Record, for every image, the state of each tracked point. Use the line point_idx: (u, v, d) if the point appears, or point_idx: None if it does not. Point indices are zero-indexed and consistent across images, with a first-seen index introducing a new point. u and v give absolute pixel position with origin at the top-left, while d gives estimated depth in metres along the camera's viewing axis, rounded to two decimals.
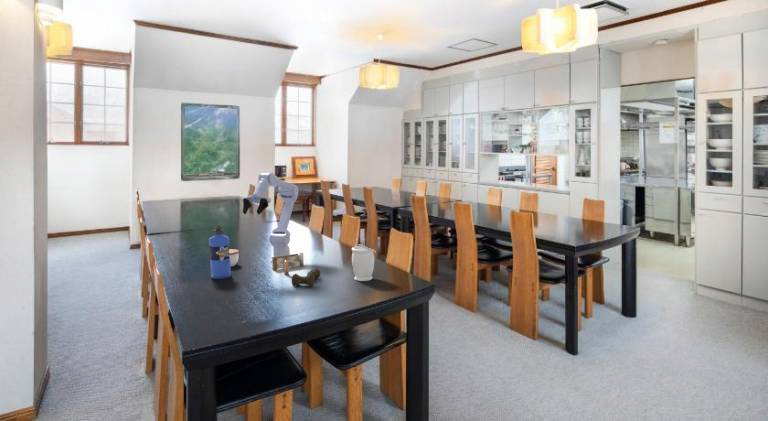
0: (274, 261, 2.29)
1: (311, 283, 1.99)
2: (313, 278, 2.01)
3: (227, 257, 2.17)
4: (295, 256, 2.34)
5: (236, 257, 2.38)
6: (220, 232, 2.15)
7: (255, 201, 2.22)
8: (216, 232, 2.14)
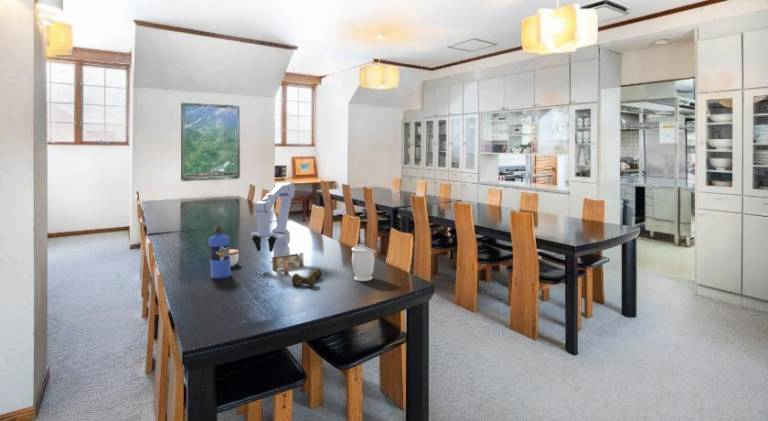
0: (274, 261, 2.29)
1: (311, 283, 1.99)
2: (313, 278, 2.01)
3: (227, 257, 2.17)
4: (295, 256, 2.34)
5: (236, 257, 2.38)
6: (220, 232, 2.15)
7: (263, 236, 2.31)
8: (216, 232, 2.14)
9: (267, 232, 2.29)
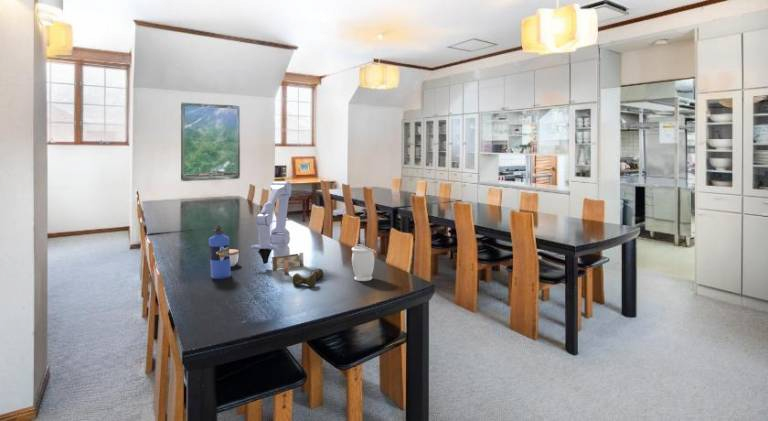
0: (274, 261, 2.29)
1: (311, 283, 1.99)
2: (313, 278, 2.01)
3: (227, 257, 2.17)
4: (295, 256, 2.34)
5: (236, 257, 2.38)
6: (220, 232, 2.15)
7: (264, 249, 2.32)
8: (216, 232, 2.14)
9: (268, 245, 2.29)
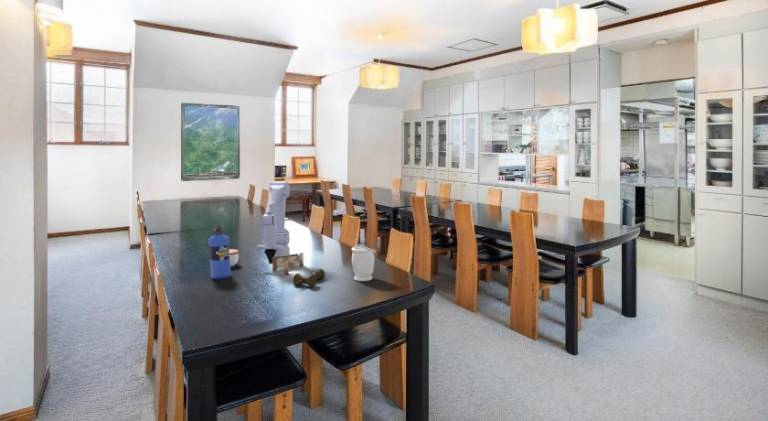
0: (274, 261, 2.29)
1: (311, 283, 1.99)
2: (314, 278, 2.00)
3: (227, 257, 2.17)
4: (295, 256, 2.34)
5: (236, 257, 2.38)
6: (220, 232, 2.15)
7: None
8: (216, 232, 2.14)
9: (273, 245, 2.29)
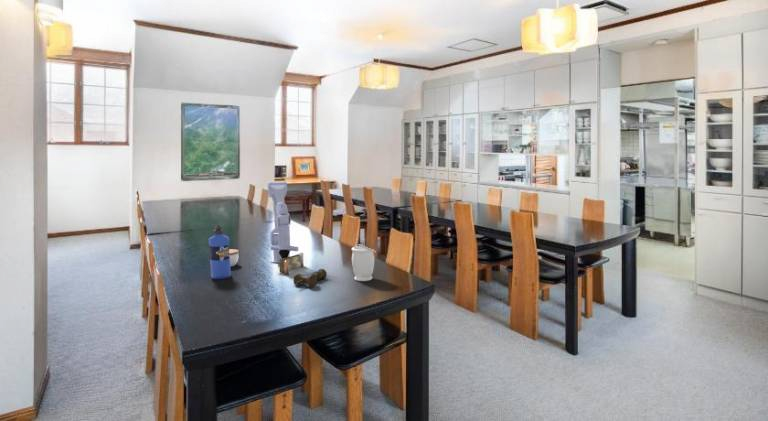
0: (282, 263, 2.24)
1: (311, 283, 1.98)
2: (314, 278, 2.00)
3: (227, 257, 2.17)
4: (297, 256, 2.33)
5: (236, 257, 2.38)
6: (220, 232, 2.15)
7: None
8: (216, 232, 2.14)
9: (287, 245, 2.27)
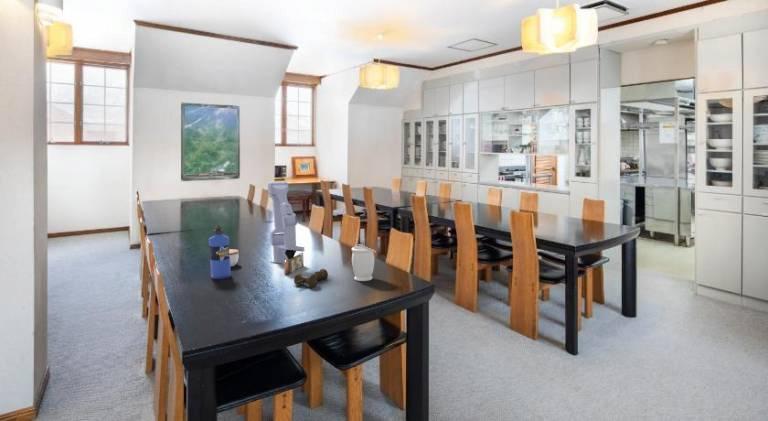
0: (290, 264, 2.23)
1: (311, 283, 1.98)
2: (314, 279, 2.00)
3: (227, 257, 2.17)
4: (299, 256, 2.33)
5: (236, 257, 2.38)
6: (220, 232, 2.15)
7: None
8: (216, 232, 2.14)
9: (293, 246, 2.26)
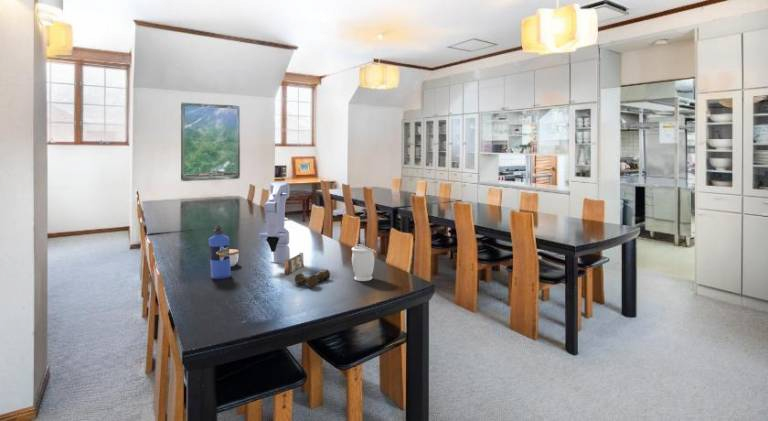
0: (290, 264, 2.23)
1: (311, 284, 1.98)
2: (314, 279, 2.00)
3: (227, 257, 2.17)
4: (299, 256, 2.33)
5: (236, 257, 2.38)
6: (220, 232, 2.15)
7: (272, 237, 2.29)
8: (216, 232, 2.14)
9: (276, 232, 2.27)
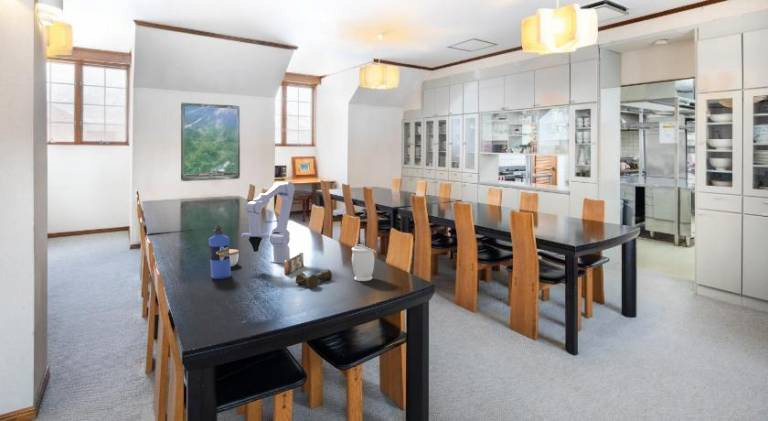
0: (290, 264, 2.23)
1: (310, 284, 1.98)
2: (314, 279, 1.99)
3: (227, 257, 2.17)
4: (299, 256, 2.33)
5: (236, 257, 2.38)
6: (220, 232, 2.15)
7: (254, 237, 2.30)
8: (216, 232, 2.14)
9: (258, 232, 2.28)
